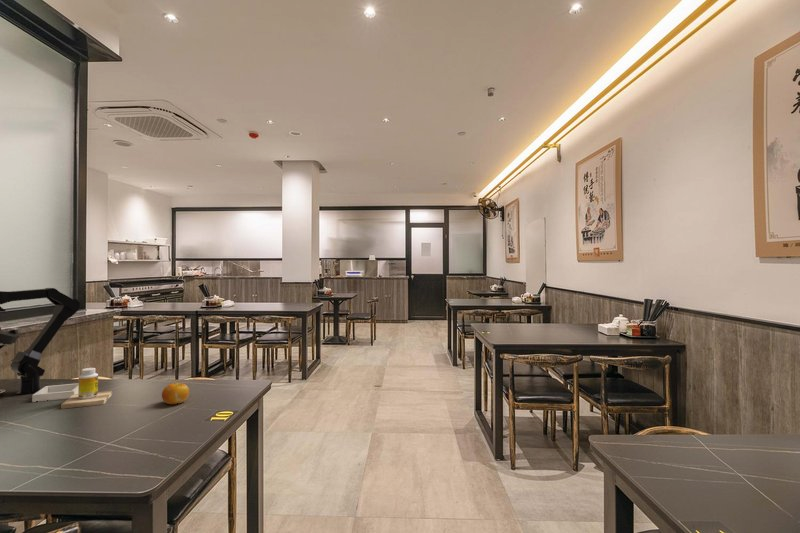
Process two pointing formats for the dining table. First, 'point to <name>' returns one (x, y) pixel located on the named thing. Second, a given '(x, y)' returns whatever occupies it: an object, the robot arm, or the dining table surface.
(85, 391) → the supplement bottle
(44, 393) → the grey tray
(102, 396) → the oak serving board
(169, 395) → the fruit
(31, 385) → the robot arm
